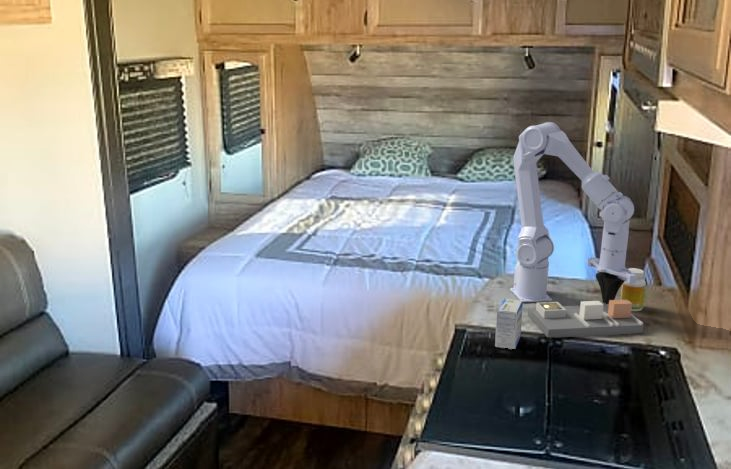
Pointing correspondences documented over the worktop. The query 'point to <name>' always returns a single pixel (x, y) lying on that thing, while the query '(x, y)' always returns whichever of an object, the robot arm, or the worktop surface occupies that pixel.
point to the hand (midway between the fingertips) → (607, 302)
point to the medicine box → (508, 324)
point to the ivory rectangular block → (591, 310)
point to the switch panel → (580, 322)
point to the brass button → (550, 306)
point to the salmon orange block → (620, 308)
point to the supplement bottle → (634, 290)
